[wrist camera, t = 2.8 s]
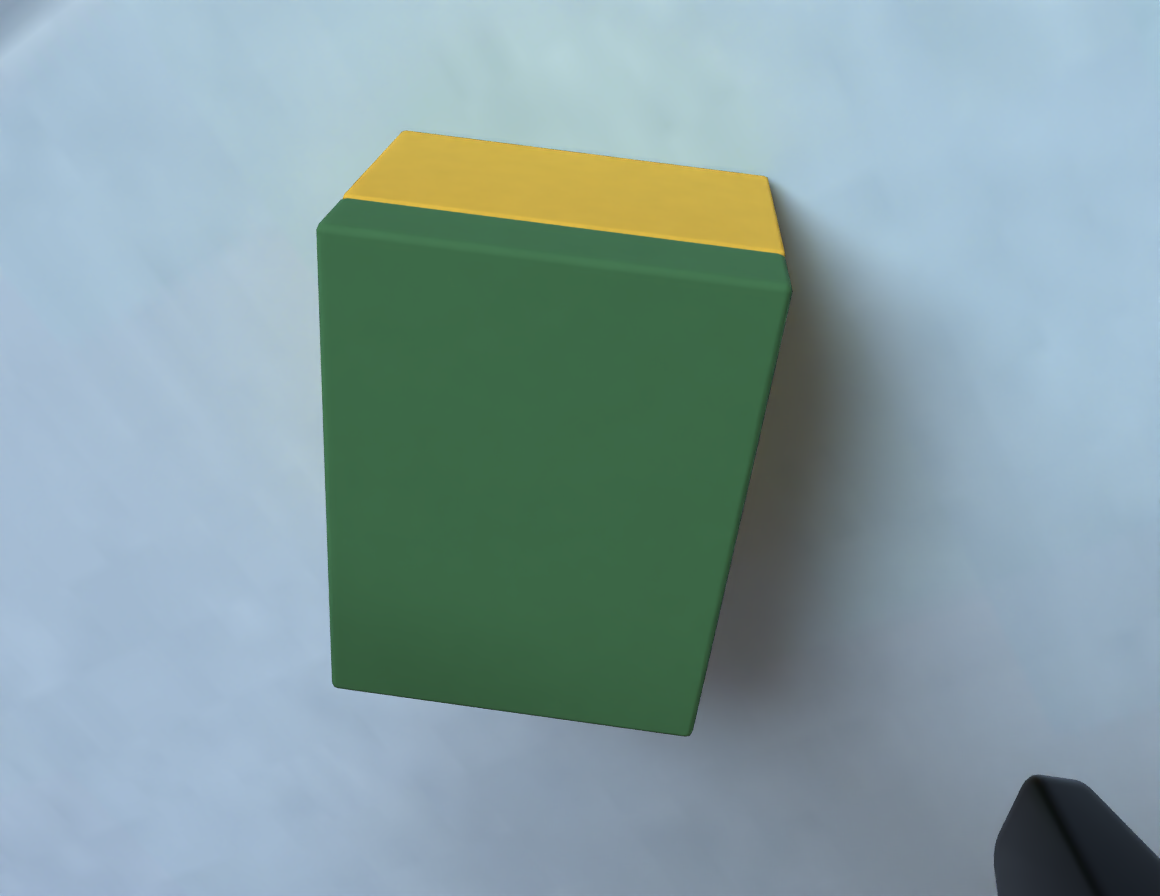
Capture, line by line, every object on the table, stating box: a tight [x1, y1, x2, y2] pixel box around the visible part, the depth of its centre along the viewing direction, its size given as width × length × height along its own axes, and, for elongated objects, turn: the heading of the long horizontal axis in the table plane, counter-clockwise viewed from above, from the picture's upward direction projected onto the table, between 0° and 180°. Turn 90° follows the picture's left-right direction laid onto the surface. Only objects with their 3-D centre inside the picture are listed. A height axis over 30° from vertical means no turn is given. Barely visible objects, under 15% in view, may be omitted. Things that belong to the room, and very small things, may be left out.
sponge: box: [316, 131, 793, 736], centre depth 13 cm, size 4×6×4 cm
